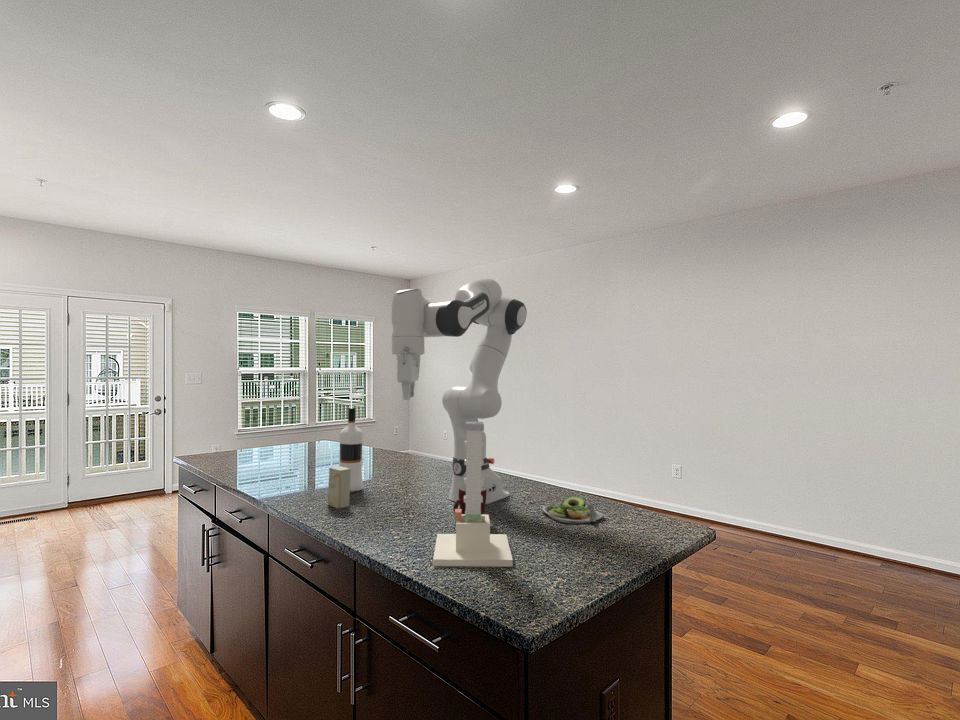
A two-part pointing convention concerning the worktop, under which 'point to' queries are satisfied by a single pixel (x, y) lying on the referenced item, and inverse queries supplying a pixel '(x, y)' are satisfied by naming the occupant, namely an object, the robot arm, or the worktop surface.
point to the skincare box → (339, 487)
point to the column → (473, 471)
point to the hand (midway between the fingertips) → (408, 398)
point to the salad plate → (572, 511)
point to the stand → (472, 545)
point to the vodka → (352, 451)
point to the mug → (463, 505)
